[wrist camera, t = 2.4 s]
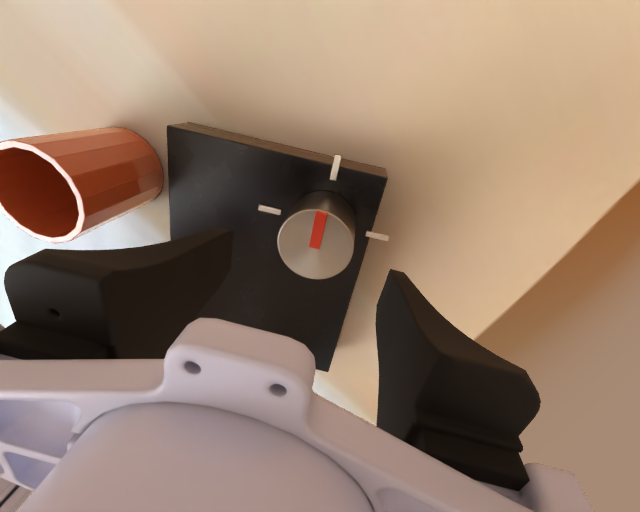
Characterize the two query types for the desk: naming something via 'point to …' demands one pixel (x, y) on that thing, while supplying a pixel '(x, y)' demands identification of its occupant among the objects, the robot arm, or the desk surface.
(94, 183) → the cup
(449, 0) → the desk surface
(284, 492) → the robot arm
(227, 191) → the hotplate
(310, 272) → the dial
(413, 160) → the desk surface
